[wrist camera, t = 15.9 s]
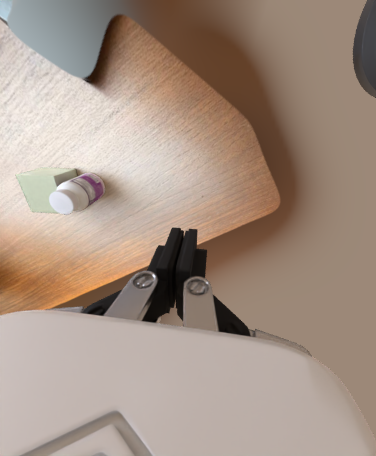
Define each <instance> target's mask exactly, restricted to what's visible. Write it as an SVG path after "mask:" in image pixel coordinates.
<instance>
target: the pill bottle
mask: <svg viewBox="0 0 376 456" xmlns="http://www.w3.org/2000/svg"><path fill="white" fill-rule="evenodd" d="M104 192H105V185H104V183H103V181H102V180H101V178H100V177H98V176H97V175H95V174H93V173H84V174H82V175H79V176H77V177H75V178H73V179H70V180H68V181H66V182H63V183H61V184H60V185H59V186H58V187H57V190H56V191H55V192H53V193H51V194H50V196H49V202H50V205H51V206H52V208H53V209H54V210H55V211H57V212H58V213H60V214H64V215H68V214H71V213H72V212H78V211H82V210H84V209H86V208H87V207H88V206H90V205H91V204H92V203H94V202H95V201H97V200H98V199H99V198H101V197H102V196H103V194H104Z"/></svg>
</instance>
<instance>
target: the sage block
mask: <svg viewBox="0 0 376 456" xmlns="http://www.w3.org/2000/svg"><path fill="white" fill-rule="evenodd" d="M16 177H17V179H18V182H19V184H20V186H21V189H22V191H23V193H24V196H25V198H26V200H27V202H28V205H29V207H30V209H31V212H41V213H58V212H57V211H55V210H54V209H53V208H52V206H51V205H50V202H49V196H50V194H51V193H53V192H55V191H56V190H57V187H58V186H59V185H60V184H61V183H63V182H66V181H68V180H70V179H73V178H75V177H77V172H76V169H75V168H48V167H42V168H38V169H35V170H31V171H27V172H24V173H20V174H17V175H16ZM58 214H60V213H58Z"/></svg>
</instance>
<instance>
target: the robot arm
mask: <svg viewBox="0 0 376 456" xmlns="http://www.w3.org/2000/svg"><path fill="white" fill-rule="evenodd" d="M196 247H197V229H189V231H186V232H185V235H184V231H183V230H181V228H172V229H171V232H170V234H169V237H168V239H167V242H166V244H165V246H161V245H159V246H158V247H157V249H156V251H155V254H154V256H153V258H152V260H151V263H150V265H149V267H148V269H147V271H142V272H139V273H137V274H135V275H134V276H133V277H132V278H131V279H130V281H129V282H128V283H127V285H126V286H125V288H124V289H122V290H120V291H118V292H116V293H114V294H112V295H110V296H108V297H106V298H104V299H101V300H99V301H97V302H95V303H93V304H92V305H90V306H88V307H87V308H85V309H84V307H83V306H81V307H70V308H57V309H46V310H27V311H18V312H13V313H8V314H4V315H1V316H0V456H376V439H375V437H374V435H373V433H372V431H371V430H370V428H369V426H368V424H367V422H366V420H365V418H364V416H363V415H362V413H361V411H360V409H359V408H358V406H357V404H356V402H355V401H354V399H353V397H352V396H351V394H350V393H349V391H348V390H347V388H346V387H345V385H344V384H343V383H342V382H341V380H340V379H339V378H338V377H337V376H336V374H335V373H333V372H332V371H331V370H330V369H329V368H328V367H326V366H325V365H324V364H322V363H321V362H320V361H318V360H316V359H314V358H313V357H312V356H311V354H310V353H309V351H308V350H306V349H305V348H304V347H303V346H301V345H299V344H297V343H294V342H291V341H289V340H286V339H283V338H280V337H277V336H274V335H271V334H268V333H265V332H263V331H260V330H257V329H255V331H253V330H250V329H248V327H247V326H246V325H245V324H244V323H243V322H242V321H241V320H240V319H239V318H238V317H237V316H236V315H235V314H233V313H232V312H231V311H230V310H229V309H228V308H227V307H226V306H225V305H224V304H223V303H222V302H220V301H219V300H218V299H217V298H216V297H215V296H214V295H213V294H212V287H211V284H210V283H209V281H208V280H207V279H205V269H206V257H207V250H204V249H196ZM175 300H176V308H177V314H178V316H179V317H180V318H181V319H182V321H183V327H181V326H173V325H166V324H159V323H160V319H161V316H162V315H164V314H165V313H169V311H170V308H174V304H175Z"/></svg>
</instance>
